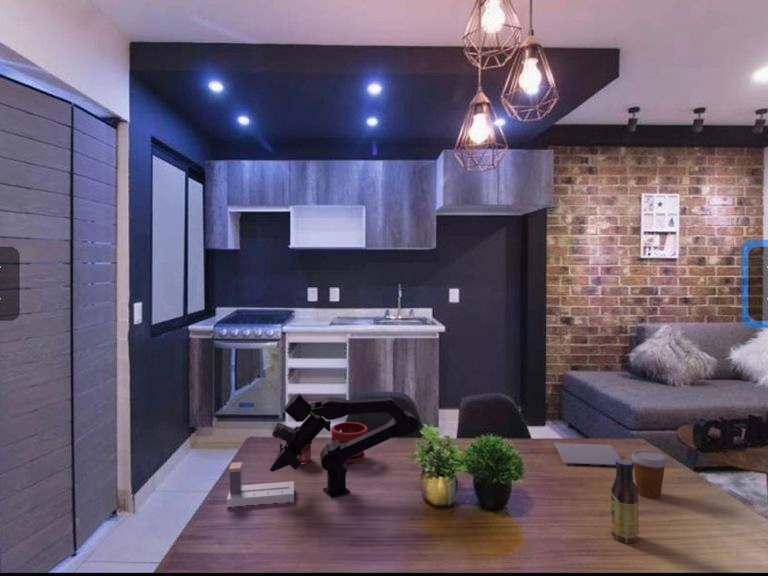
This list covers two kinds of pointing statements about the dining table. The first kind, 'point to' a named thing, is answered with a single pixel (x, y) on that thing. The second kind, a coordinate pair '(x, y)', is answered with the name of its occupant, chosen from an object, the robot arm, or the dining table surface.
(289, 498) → the dimmer panel
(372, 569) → the dining table surface
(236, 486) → the slider handle
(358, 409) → the robot arm
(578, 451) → the book
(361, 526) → the dining table surface
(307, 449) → the canned food
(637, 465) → the disposable coffee cup
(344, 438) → the plant pot
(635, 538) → the sauce bottle
